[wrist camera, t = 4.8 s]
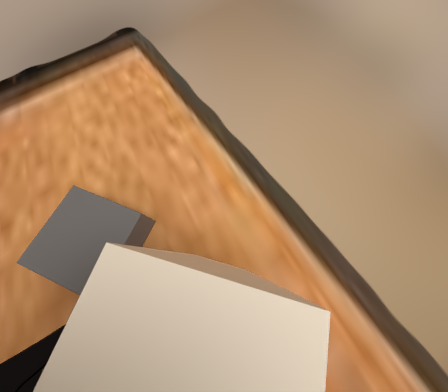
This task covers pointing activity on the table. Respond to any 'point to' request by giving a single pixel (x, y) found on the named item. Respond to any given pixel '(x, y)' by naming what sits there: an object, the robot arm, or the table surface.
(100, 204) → the charcoal slab
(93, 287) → the cream block
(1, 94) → the table surface
